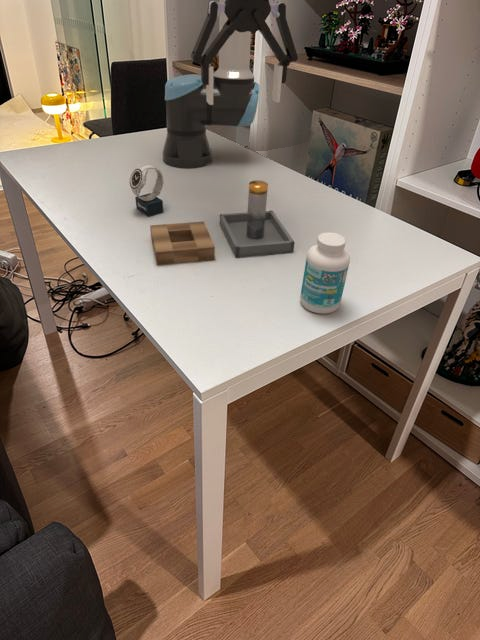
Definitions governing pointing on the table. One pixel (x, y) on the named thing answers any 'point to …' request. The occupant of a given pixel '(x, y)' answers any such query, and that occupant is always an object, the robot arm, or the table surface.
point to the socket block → (182, 243)
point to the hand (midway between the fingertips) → (243, 102)
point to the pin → (256, 209)
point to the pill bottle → (325, 274)
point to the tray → (243, 246)
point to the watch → (149, 202)
